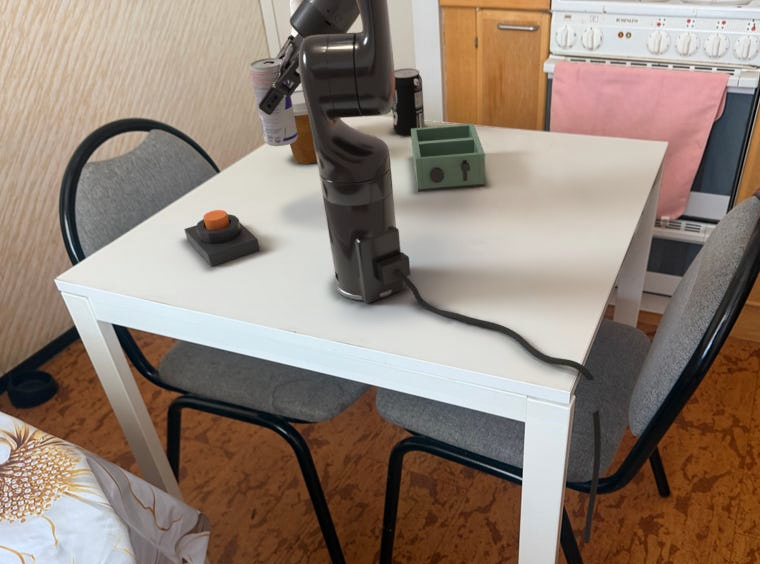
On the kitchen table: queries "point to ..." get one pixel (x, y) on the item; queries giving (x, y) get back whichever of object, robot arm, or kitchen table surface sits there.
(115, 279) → the kitchen table surface
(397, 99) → the beverage can
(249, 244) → the control box
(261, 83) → the energy drink
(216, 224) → the button
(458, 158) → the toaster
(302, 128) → the disposable coffee cup
